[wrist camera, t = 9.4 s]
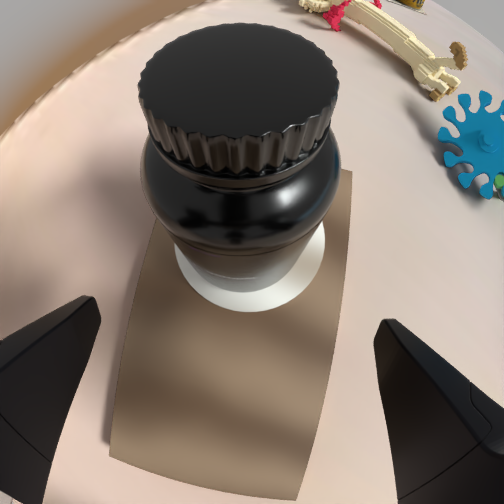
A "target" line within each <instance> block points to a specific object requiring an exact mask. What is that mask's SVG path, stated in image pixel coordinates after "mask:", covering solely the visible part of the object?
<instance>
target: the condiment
mask: <svg viewBox="0 0 504 504" xmlns="http://www.w3.org/2000/svg"><path fill="white" fill-rule="evenodd" d="M388 1H391V2H394V3H397V4H400V5H403V6H405V7H408V8H410V9H413V10H415V11H418V12H420V13H423V14H425V15H427V14H426V13H425V12H424V11H423V9H422V8H421V7H422V5H423V3H424V1H425V0H395V1H394V0H388ZM396 1H397V2H396Z"/></svg>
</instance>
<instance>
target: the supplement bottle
mask: <svg viewBox="0 0 504 504" xmlns="http://www.w3.org/2000/svg"><path fill="white" fill-rule="evenodd" d="M140 75H141V80H140V81H139V83H138V91H139V96H138V98H139V103H140V106H141V108H142V111H143V113H144V116H145V118H146V120H147V123H148V130H149V134H148V137H147V139H146V142H145V144H144V148H143V151H142V157H141V165H140V174H141V183H142V188H143V191H144V194H145V197H146V199H147V201H148V203H149V205H150V207H151V209H152V211H153V213H154V214H155V216H156V217H157V219H158V220H159V222H160V223H161V225H162V226H163V227H164V229H165V230H166V232H167V233H168V234H169V236H170V237H171V239H172V240H173V241H174V243H175V244H176V245H177V247H178V248H179V250H180V251H181V252H182V254H183V255H184V256H185V258H186V259H187V260H188V262H189V263H190V264H191V266H192V267H193V268H194V269H195V270H196V272H197V273H198V274H199V275H200V276H201V277H202V278H204V279H205V280H206V281H207V282H209V283H211V284H212V285H214V286H216V287H218V288H221V289H223V290H227V291H231V292H240V293H245V292H254V291H258V290H262V289H265V288H267V287H269V286H271V285H273V284H275V283H276V282H278V281H279V280H281V279H282V278H283V277H284V276H285V275H286V274H287V273H288V272H289V271H290V270H291V269H292V267H293V266H294V265H295V263H296V262H297V260H298V259H299V257H300V255H301V254H302V252H303V251H304V249H305V248H306V246H307V244H308V243H309V241H310V240H311V238H312V236H313V235H314V233H315V232H316V230H317V228H318V227H319V225H320V224H321V222H322V220H323V219H324V217H325V215H326V214H327V212H328V210H329V208H330V206H331V204H332V202H333V200H334V198H335V195H336V193H337V190H338V187H339V183H340V177H341V158H340V151H339V147H338V144H337V141H336V138H335V136H334V133H333V132H332V130H331V128H330V123H331V116H332V113H333V111H334V108H335V105H336V102H337V96H338V94H337V93H338V90H339V80H338V79H337V70H336V69H335V68H334V67H333V65H332V60H331V59H330V58H328V57H327V56H326V55H325V52H324V51H323V50H322V49H320V48H318V47H317V46H316V45H315V44H314V43H313V42H311V41H309V40H306V39H305V38H304V37H302V36H301V35H298V34H295V33H292V32H290V31H288V30H285V29H280V28H276V27H274V26H268V25H261V24H257V23H252V24H247V23H234V24H221V25H217V26H208V27H205V28H203V29H200V30H195V31H192V32H190V33H188V34H186V35H183V36H180V37H178V38H177V39H175V40H174V41H172V42H170V43H168V44H166V45H165V46H164V47H163V48H162V49H161V50H159V51H157V52H156V53H155V54H154V56H153V58H151V59H150V60H149V61H148V62H147V63H146V68H145V69H144V70H143V71H142V72H141V73H140Z"/></svg>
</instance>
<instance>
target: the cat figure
mask: <svg viewBox="0 0 504 504" xmlns="http://www.w3.org/2000/svg"><path fill="white" fill-rule="evenodd" d="M374 2H375V4H374V3H371V2H368V1H363V0H299V5H300V6H303V7H304V9H305V10H307V9H308V8H310V9H309V12H310V13H312V11H315V12H318V13H319V12H325V11H328V12H327V13H323V17H324V19H326V20H327V21H328V23H329V24H330V25H331V28H332V29H335V31H341V30H340V29H339V28H340V26H339V25H337V24H338V23H340V20H341V17H343V15H346V16H347V17H349V18H350V19H352V20H353V21H355V22H356V23H358V24H362V25H364V26H365V27H366V28H368V29H369V30H371V31H372V32H373V33H375V34H376V35H377V36H379V37H380V38H381V39H382V40H384V41H385V42H386V43H387V44H389V45H390V46H391V47H392V48H393V50H394V52H396V53H397V54H398V55H399V56H400V57H401V58H403V59H404V60H405V61H406V62H407V63H408V64H409V65H410V66H411V68H412V70H413V71H414V72H413V74H414V77H415V78H416V79H417V80H418V81H419V82H420V83H421V84H427V85H428V86H429V87H430V88H431V89H433V88H434V89H435V90H433V91H432V92H431V93H430V95H429V96H430V97H431V98H432V99H433V100H434V101H435V102H436V101H438V100H440V98H442V97H443V96H444V95H445V94H447V95H450V94H451V93H452V92H454V91H455V90H456V88H457V86H458V85H459V84H460V81H459V79H458V78H457V77H456V76H455V77H453V76H452V75H451V74H449V75H448V74H447V73H446V72H445V71H444V70H445V68H444V66H445V67H449V68H450V69H454V70H455V69H457V70H464V69H465V67H466V66H467V64H466V61H467V60H468V59H467V58H466V57H467V55H466V54H465V53H466V51H465V50H464V49H465V47H464V46H463V45H462V44H461V43H460V42H453V43H452V44H451V46H450V47H449V48H450V49H451V51H450V52H451V53H453V54H454V56H453V57H454V58H453V59H452V58H445V57H444V58H442V57H436V58H435V57H434V55H435V54H434V53H432V52H431V51H430V50H429V49H428V48H427V47H426V46H425V45H423V44H422V43H421V42H420V41H419V40H417V39H416V35H414V34H413V33H412V32H411V31H409V30H408V29H407V28H405V27H404V26H403V25H401V24H400V23H399V22H397V21H396V20H395V19H393V18H392V17H391V16H389V15H388V14H386V13H385V12H383V11H382V10H380V9H381V7H382V5H381V4H380V1H379V0H374ZM439 79H441V80H442V81H443V82H441V81H440V80H439ZM446 82H447V83H448V84H446Z"/></svg>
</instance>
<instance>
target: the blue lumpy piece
mask: <svg viewBox="0 0 504 504" xmlns="http://www.w3.org/2000/svg"><path fill="white" fill-rule="evenodd" d="M479 100H480V108H479V110H478V112H477V113H472V112H470V111H469V109H468V108H469V107H470V105H471V98H470V96H469V94H460V95H458V102H459V104H460V105H461V106H462V108H463V109H464V112H465V115H466V120H465V121H464V122H459V121H458V120H457V119H456V113H455V109H454V108H453V107H452V106H448V107H447V108H446V109H445V110H444V111H443V116H444V118H445V119H446V120H447V121H450V122H451V123H453V124H454V125H455V126H456V128H457V129H458V131H459V133H460V136H459V137H458V138H454V137H452V136H451V134H450V132H449V131H448V129H447V128H445V127H441V128H440V130H439V133H438V140H439V141H440V142H442V143H452V144H454V145H456V146H458V147H459V148H460V149H461V150H462V151H463V155H462V156H460V157H457V156H455V155H454V154H453V153H452V152H449V151H447V152H444V160H445V164H446V167H449V168H450V167H453V166H454V165H456V164H458V163H467V164H471V165H472V166H473V168H474V171H473V172H472V173H461V174H459V176H458V180H459V182H460V184H461V185H462V186H463V187H464V189H466V188H468V187H469V186H470V184H471V182H472V180H473V179H474V178H475V177H476V176H478V175H480V174H482V173H485V174H487V175H488V177H489V182H488V183H486V184H484V185H482V186H481V188H480V191H479V194H480V195H481V196H483V197H485V198H487V199H490V198H492V196H493V183H494V186H495V188H496V190H497V193H498V196H499V198H500V199H501V200H502V201H503V202H504V121H503V120H502V119H501V117H500V116H501V115H504V100H503V101H502V102H501V106H500V108H499V109H498V110H497V111H495V112H493V113H488V112H487V111H486V110H485V107H486V106H488V105H490V104H491V100H492V96H491V95H490V94H489V93H487V92H485V91H482V90H481V91H480V93H479Z"/></svg>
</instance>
